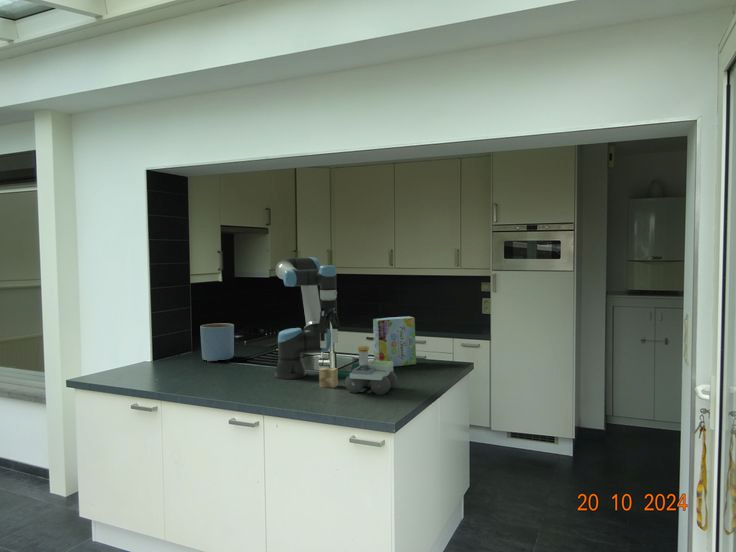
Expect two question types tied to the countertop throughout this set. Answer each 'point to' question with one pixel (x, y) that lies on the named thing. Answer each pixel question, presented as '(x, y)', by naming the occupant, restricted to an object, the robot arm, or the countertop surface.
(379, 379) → the cart
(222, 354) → the planter
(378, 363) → the tray
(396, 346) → the snack box
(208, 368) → the countertop surface
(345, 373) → the bracket
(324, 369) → the chock
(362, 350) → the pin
